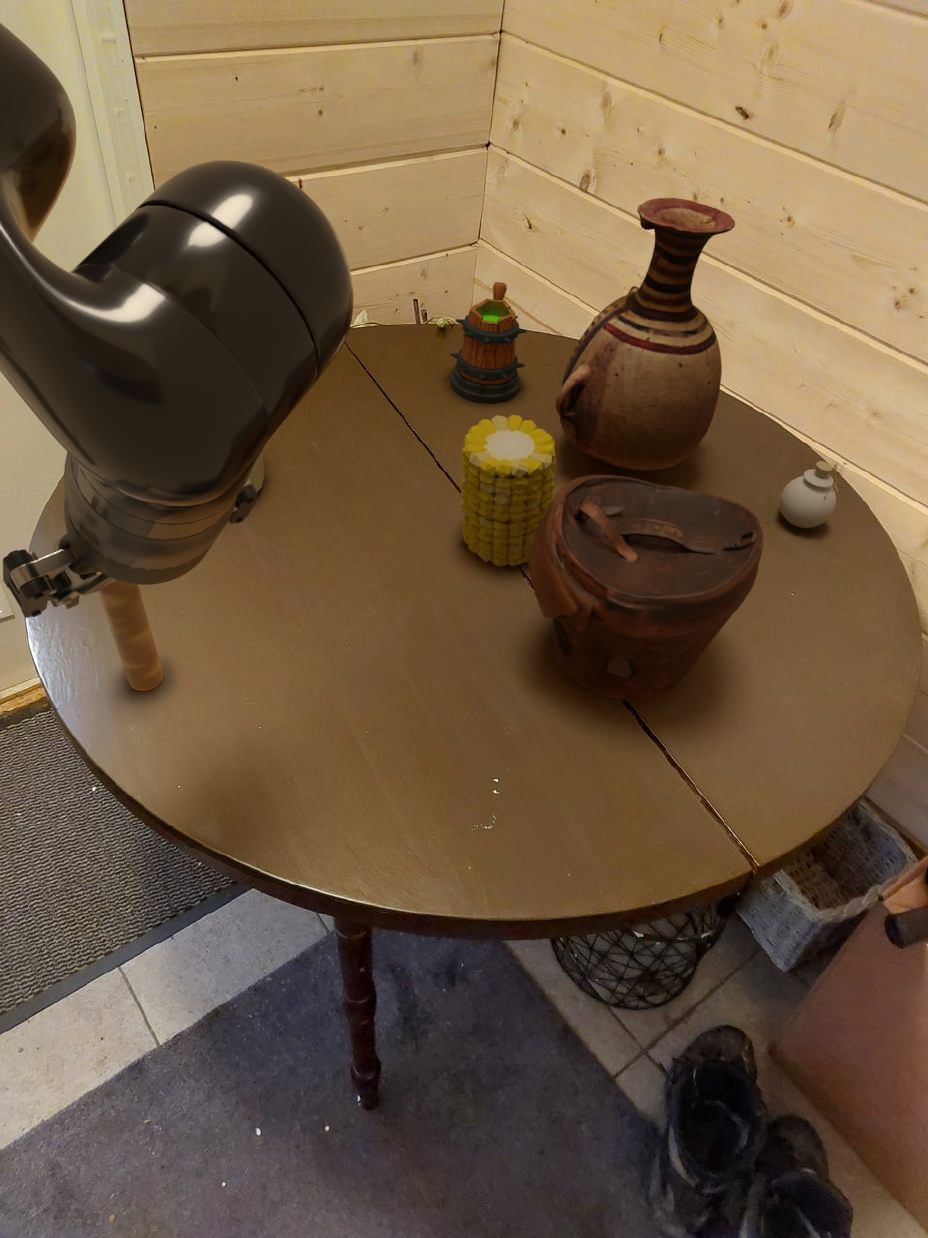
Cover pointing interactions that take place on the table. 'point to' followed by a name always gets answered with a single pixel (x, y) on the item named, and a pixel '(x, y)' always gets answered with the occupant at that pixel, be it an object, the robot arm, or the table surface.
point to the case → (639, 579)
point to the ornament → (810, 497)
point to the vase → (649, 354)
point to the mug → (488, 351)
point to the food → (505, 487)
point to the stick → (132, 634)
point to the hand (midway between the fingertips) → (127, 563)
